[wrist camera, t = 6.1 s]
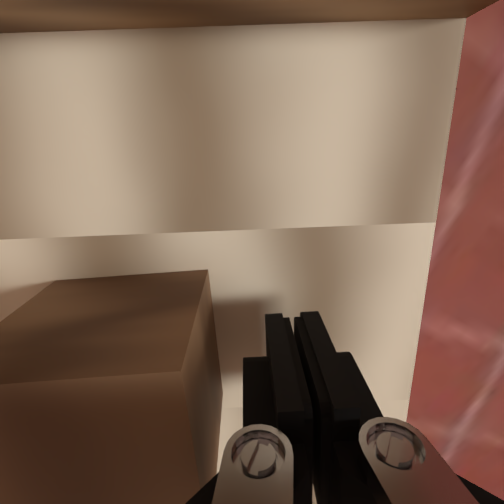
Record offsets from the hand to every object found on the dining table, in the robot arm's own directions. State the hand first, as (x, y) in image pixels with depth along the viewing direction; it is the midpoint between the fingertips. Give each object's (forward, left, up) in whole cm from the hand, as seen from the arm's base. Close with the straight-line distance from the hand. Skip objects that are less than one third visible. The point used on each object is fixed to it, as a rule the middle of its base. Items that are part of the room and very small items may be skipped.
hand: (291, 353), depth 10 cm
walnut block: (+5, 0, -1) cm, 5 cm away
